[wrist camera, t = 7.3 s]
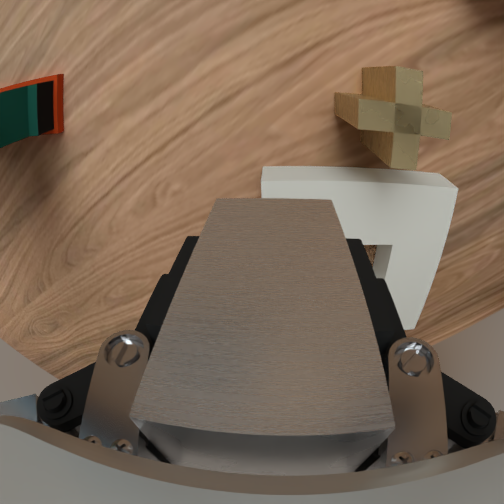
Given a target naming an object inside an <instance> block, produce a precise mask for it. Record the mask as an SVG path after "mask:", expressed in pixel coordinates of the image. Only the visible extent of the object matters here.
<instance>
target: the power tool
mask: <svg viewBox="0 0 504 504" xmlns="http://www.w3.org/2000/svg"><path fill="white" fill-rule="evenodd" d="M63 131H64V124H63V74H58V75H53V76H48V77H43V78H39V79H35V80H30V81H26V82H22V83H19V84H15V85H11V86H8V87H5V88H1V89H0V148H1V147H4V146H6V145H9V144H11V143H13V142H16V141H19V140H21V139H24V138H26V137H29V136H39V135H44V134H58V133H61V132H63Z"/></svg>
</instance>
